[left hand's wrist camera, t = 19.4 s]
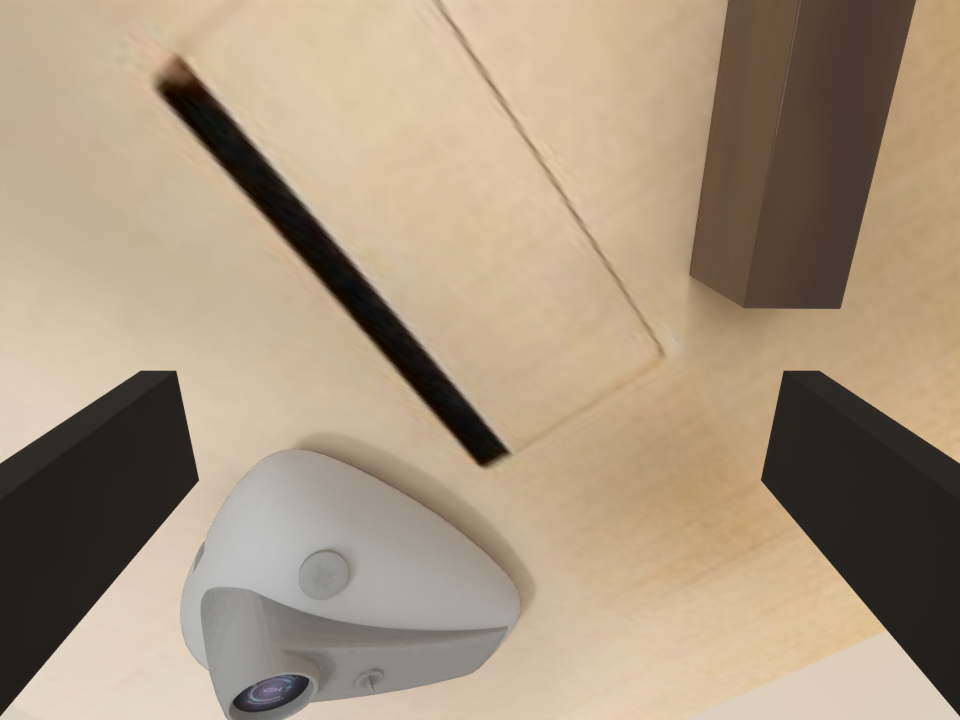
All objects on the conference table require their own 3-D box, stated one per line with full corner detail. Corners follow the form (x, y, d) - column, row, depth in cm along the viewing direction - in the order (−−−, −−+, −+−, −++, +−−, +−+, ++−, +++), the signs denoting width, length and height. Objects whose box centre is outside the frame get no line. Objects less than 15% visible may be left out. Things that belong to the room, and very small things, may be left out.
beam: (688, 275, 36) (743, 308, 29) (765, -260, 27) (874, -417, 19) (766, 276, 36) (841, 309, 29) (868, -259, 27) (1018, -415, 19)
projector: (289, 683, 49) (215, 892, 35) (159, 466, 41) (-1, 626, 27) (534, 625, 46) (557, 824, 33) (445, 382, 39) (427, 512, 25)
